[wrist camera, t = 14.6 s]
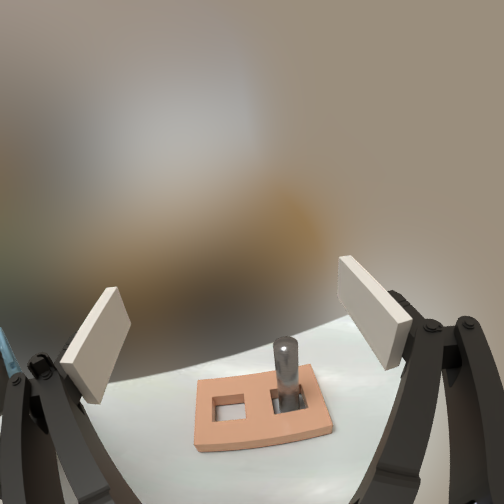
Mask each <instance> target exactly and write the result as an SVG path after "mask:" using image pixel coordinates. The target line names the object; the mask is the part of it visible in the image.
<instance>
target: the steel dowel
mask: <svg viewBox="0 0 504 504" xmlns="http://www.w3.org/2000/svg"><path fill="white" fill-rule="evenodd" d="M273 349H274V358H275V368H276V378H277V389H278V399H279V409H280V412H281V413H286V412H291V411H296V410H298V409H299V373H298V342H297V340H296V339H295V338H292V337H288V336H285V337H281V338H278V339H277V340H275V342H274V343H273Z"/></svg>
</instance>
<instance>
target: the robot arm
mask: <svg viewBox="0 0 504 504" xmlns="http://www.w3.org/2000/svg"><path fill="white" fill-rule="evenodd" d="M337 298H338V299H339V301H340V302H341V304H342V305H343V307H344V308H345V309H346V311H347V312H348V314H349V315H350V317H351V318H352V320H353V321H354V323H355V324H356V326H357V327H358V329H359V331H360V332H361V334H362V335H363V337H364V338H365V340H366V341H367V343H368V344H369V346H370V347H371V349H372V351H373V352H374V354H375V355H376V357H377V358H378V360H379V362H380V363H381V365H382V366H383V368H384V370H385V371H386V370H389V369H392V368H394V367H397V366H399V364H400V361H401V358H402V357H403V359H404V360H405V361H406V364H405V367H404V369H403V372H402V375H401V377H400V378H401V381H400V385H399V388H398V392H397V395H396V398H395V401H394V404H393V407H392V410H391V413H390V416H389V419H388V422H387V424H386V427H385V430H384V432H383V435H382V438H381V440H380V443H379V445H378V447H377V450H376V452H375V454H374V457H373V459H372V461H371V463H370V465H369V468H368V470H367V472H366V474H365V476H364V478H363V480H362V482H361V484H360V486H359V488H358V490H357V491H356V493H355V495H354V496H353V498H352V499H351V501H350V502H349V504H413V502H414V500H415V497H416V495H417V492H418V489H419V486H420V480H421V479H420V477H419V471H420V468H421V465H422V462H423V459H424V455H425V451H426V448H427V444H428V441H429V437H430V432H431V428H432V424H433V418H434V414H435V409H436V404H437V398H438V391H439V385H440V377H441V370H442V376H443V382H444V388H445V396H446V404H447V413H448V424H449V440H450V485H449V504H504V390H503V386H502V383H501V380H500V376H499V373H498V370H497V367H496V364H495V362H494V359H493V356H492V353H491V350H490V348H489V346H488V343H487V340H486V338H485V335H484V333H483V330H482V328H481V326H480V324H479V322H478V321H477V320H476V319H474V318H473V317H470V316H462V317H460V318H458V320H457V322H456V325H455V326H447V327H443V325H442V324H441V323H440V322H438V321H436V320H433V319H424V317H422V315H421V314H420V313H419V312H418V311H417V310H416V309H415V308H414V307H413V306H412V305H410V303H409V302H408V301H406V299H405V298H404V297H403V296H402V295H401V294H399V293H397V292H395V291H393V290H391V291H386V290H385V289H384V288H383V287H382V286H381V285H380V284H379V283H378V282H377V281H376V280H375V279H374V278H373V277H372V276H371V275H370V274H369V273H368V272H367V271H366V270H365V269H364V268H363V267H362V266H361V265H360V264H359V263H358V262H357V261H356V260H355V259H354V258H353V257H352V256H351V255H349V256H343V257H339V268H338V292H337ZM130 325H131V323H130V320H129V317H128V315H127V312H126V310H125V307H124V304H123V302H122V299H121V296H120V293H119V290H118V287H110V288H106V290H105V291H104V293H103V294H102V295H101V297H100V298H99V300H98V301H97V303H96V304H95V306H94V307H93V309H92V310H91V312H90V313H89V315H88V316H87V318H86V320H85V321H84V323H83V324H82V326H81V327H80V329H79V331H78V332H75V333H74V334H73V335H72V336H71V337H69V339H68V341H67V342H66V345H65V346H64V347H63V350H62V351H61V352H60V354H59V356H58V357H57V359H56V361H55V362H54V364H53V362H52V360H51V359H50V357H49V356H48V354H47V353H44V352H41V353H38V354H36V355H34V356H33V357H32V358H31V359H30V360H29V362H28V364H27V367H28V369H29V370H30V372H31V373H32V375H33V376H34V377H35V378H33V379H28V378H27V377H26V376H25V374H24V373H22V371H21V368H20V366H19V364H18V362H17V360H16V358H15V356H14V354H13V352H12V349H11V347H10V345H9V343H8V340H7V338H6V336H5V334H4V332H3V330H2V328H1V327H0V416H2V415H3V416H2V426H1V433H0V499H1V500H2V501H3V504H65V502H64V497H63V493H62V488H61V483H60V478H59V472H58V466H57V459H56V452H57V455H58V457H59V460H60V462H61V465H62V467H63V469H64V472H65V474H66V476H67V479H68V481H69V483H70V485H71V487H72V489H73V491H74V493H75V495H76V497H77V499H78V502H79V504H142V503H141V502H140V501H139V499H138V498H137V497H136V495H135V494H134V493H133V491H132V490H131V488H130V487H129V486H128V484H127V483H126V481H125V480H124V478H123V477H122V475H121V474H120V472H119V471H118V469H117V468H116V466H115V464H114V463H113V461H112V460H111V458H110V456H109V455H108V453H107V451H106V450H105V448H104V446H103V444H102V442H101V441H100V439H99V437H98V435H97V433H96V431H95V429H94V427H93V426H92V424H91V422H90V419H89V417H88V415H87V413H86V411H85V409H84V407H83V405H82V404H81V402H80V399H81V396H83V398H84V399H85V400H86V402H87V403H90V404H101V401H102V398H103V395H104V392H105V389H106V386H107V384H108V381H109V378H110V375H111V372H112V370H113V367H114V365H115V362H116V360H117V357H118V354H119V352H120V350H121V347H122V345H123V342H124V340H125V337H126V335H127V333H128V330H129V328H130ZM29 414H30V415H29ZM55 449H56V451H55Z"/></svg>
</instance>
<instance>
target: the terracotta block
mask: <svg viewBox="0 0 504 504" xmlns="http://www.w3.org/2000/svg"><path fill="white" fill-rule="evenodd" d="M298 373H299V394H300V393H301V394H302V397H303V401H304V404H305V408H306V409H301V410H296V411H291V412H286V413H280V414H275V415H274V411H273V406H272V400H271V399H272V398H278V389H277V378H276V370H275V371H269V372H263V373H256V374H249V375H242V376H234V377H226V378H216V379H205V380H198V383H197V397H196V413H195V432H194V446H195V447H196V449H197V450H198V452H212V451H228V450H240V449H249V448H257V447H265V446H271V445H278V444H284V443H289V442H294V441H299V440H304V439H309V438H313V437H317V436H321V435H325V434H329V433H331V431H332V427H333V424H332V421H331V418H330V416H329V413H328V410H327V407H326V405H325V402H324V399H323V396H322V394H321V391H320V388H319V385H318V383H317V380H316V377H315V375H314V372H313V369H312V367H311V364H307V365H302V366H298ZM237 403H245V411H246V419H238V420H228V421H216V422H215V406H216V405H227V404H237Z"/></svg>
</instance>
